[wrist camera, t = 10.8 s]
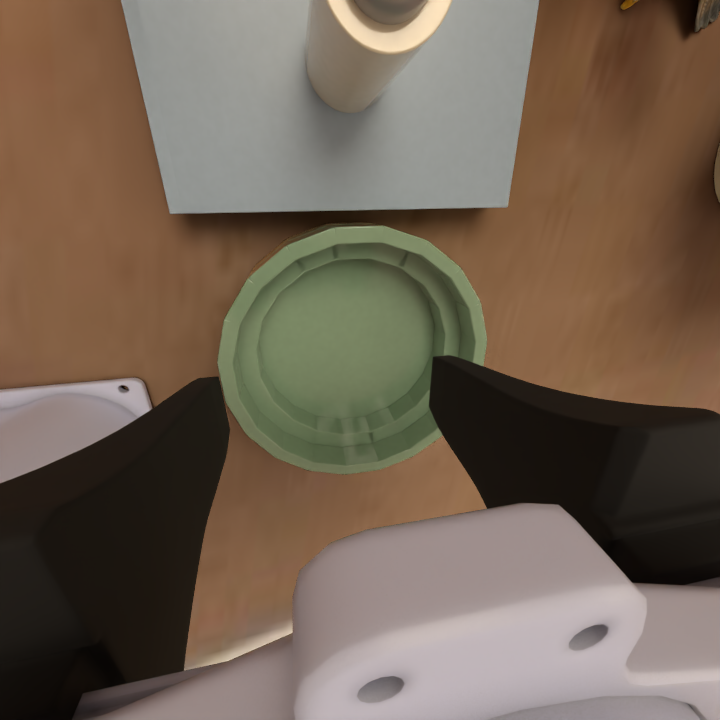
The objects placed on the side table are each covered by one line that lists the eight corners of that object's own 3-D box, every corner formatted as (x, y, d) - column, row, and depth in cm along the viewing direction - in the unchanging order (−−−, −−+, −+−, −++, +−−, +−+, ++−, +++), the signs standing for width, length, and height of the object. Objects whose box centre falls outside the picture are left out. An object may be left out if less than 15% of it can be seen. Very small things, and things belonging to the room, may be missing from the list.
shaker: (307, 112, 14) (324, 23, 7) (300, -2, 13) (312, -254, 6) (389, 114, 15) (479, 34, 8) (391, 5, 13) (504, -216, 6)
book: (183, 212, 17) (169, 214, 15) (112, -126, 12) (77, -190, 10) (485, 207, 19) (507, 207, 17) (521, -74, 15) (557, -117, 13)
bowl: (251, 445, 23) (243, 490, 19) (210, 225, 17) (188, 231, 14) (444, 420, 25) (469, 457, 22) (466, 218, 19) (506, 222, 16)
